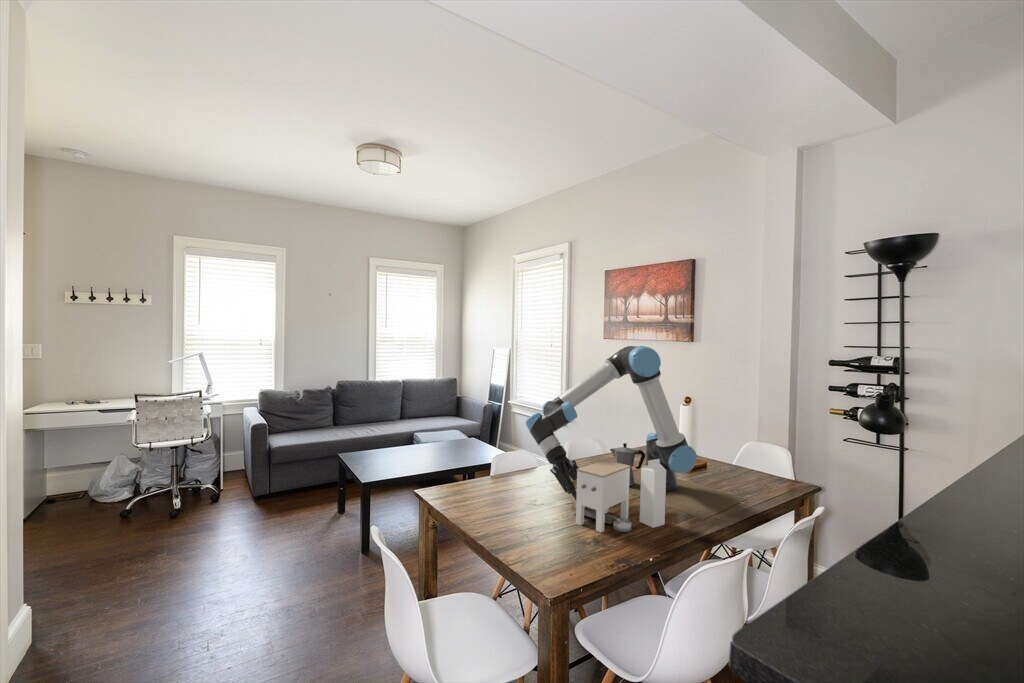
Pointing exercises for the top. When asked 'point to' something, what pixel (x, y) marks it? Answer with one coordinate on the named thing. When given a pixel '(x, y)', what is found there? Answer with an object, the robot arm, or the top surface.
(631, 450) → the coffeepot
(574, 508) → the beige and grey pieces
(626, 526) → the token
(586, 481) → the cabinet
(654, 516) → the milk
